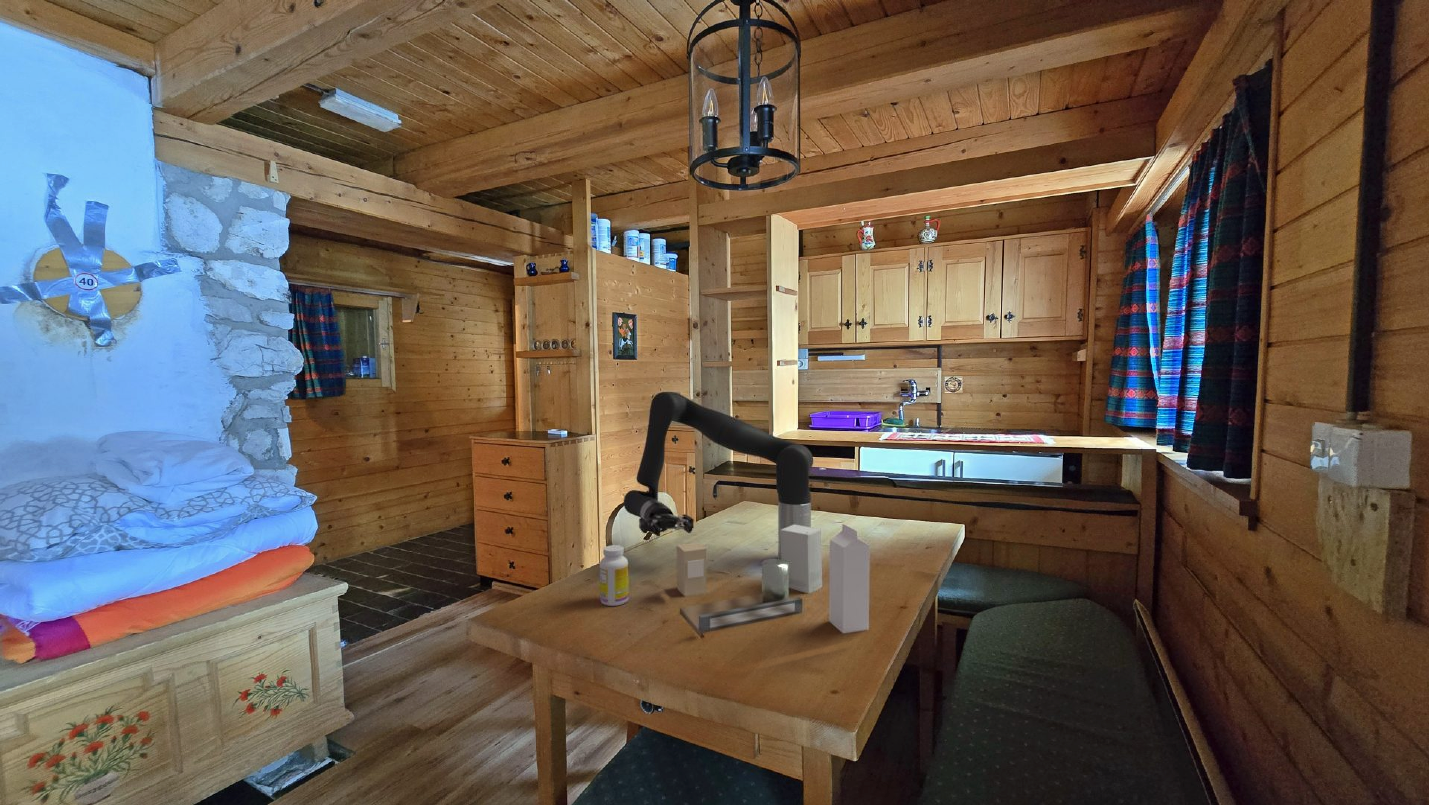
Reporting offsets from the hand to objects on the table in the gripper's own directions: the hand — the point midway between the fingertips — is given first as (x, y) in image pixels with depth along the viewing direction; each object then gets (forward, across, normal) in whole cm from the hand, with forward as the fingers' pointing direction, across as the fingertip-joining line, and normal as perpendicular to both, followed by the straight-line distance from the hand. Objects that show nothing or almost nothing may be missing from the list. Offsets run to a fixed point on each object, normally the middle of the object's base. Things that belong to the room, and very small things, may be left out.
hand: (674, 530), depth 148 cm
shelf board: (+27, +6, +12) cm, 30 cm away
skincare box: (+20, +26, +12) cm, 35 cm away
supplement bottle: (+8, -18, +13) cm, 23 cm away
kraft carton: (+12, 0, +13) cm, 17 cm away
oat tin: (+28, +14, +11) cm, 34 cm away
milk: (+42, +24, +12) cm, 50 cm away
